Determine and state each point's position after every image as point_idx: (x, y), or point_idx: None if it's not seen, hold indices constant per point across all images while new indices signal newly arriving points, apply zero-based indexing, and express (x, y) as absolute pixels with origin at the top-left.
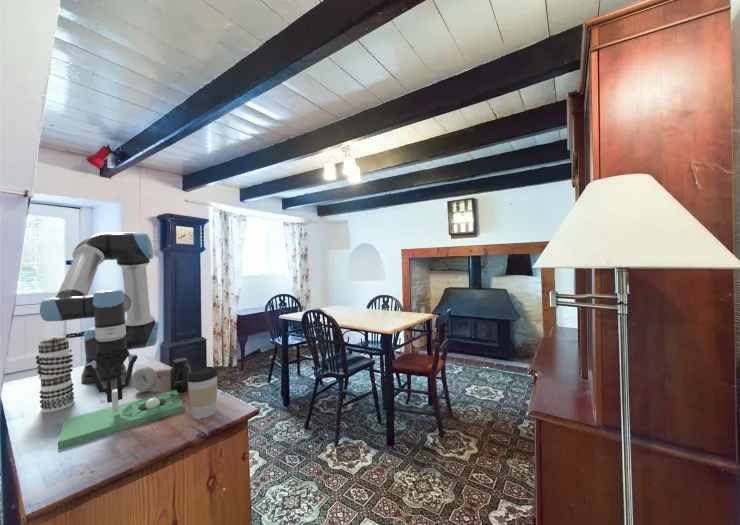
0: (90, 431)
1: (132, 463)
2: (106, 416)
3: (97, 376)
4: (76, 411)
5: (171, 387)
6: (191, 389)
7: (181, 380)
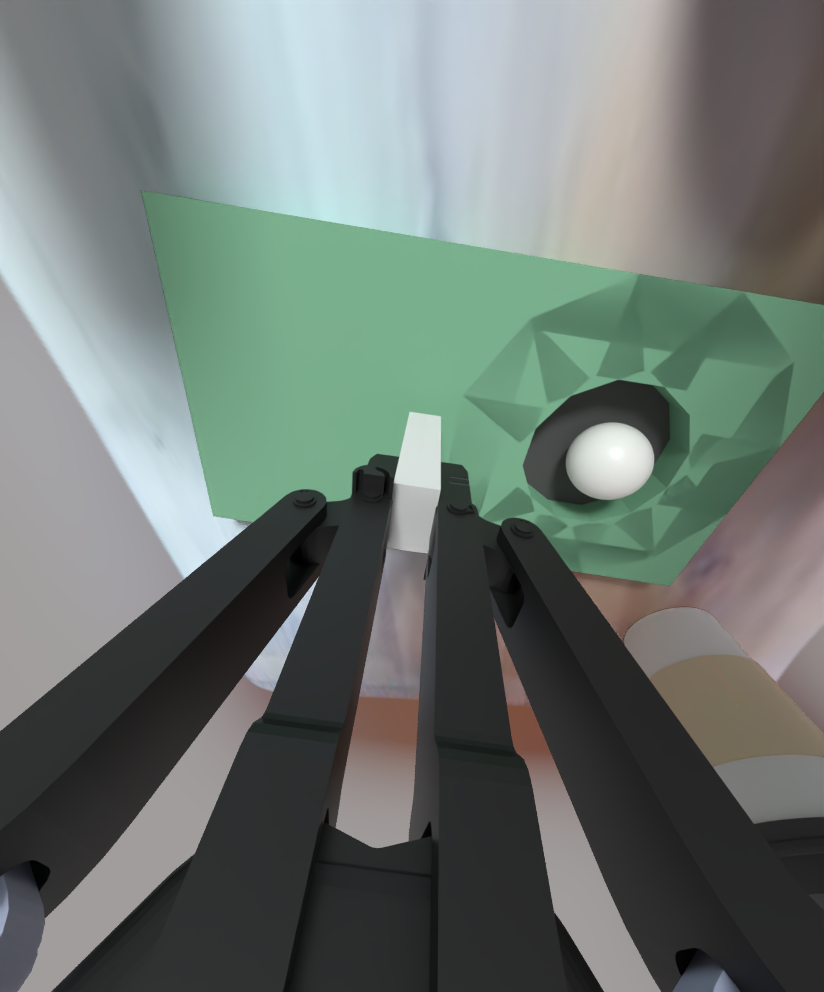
0: None
1: (411, 693)
2: (379, 409)
3: (198, 723)
4: None
5: None
6: None
7: None
